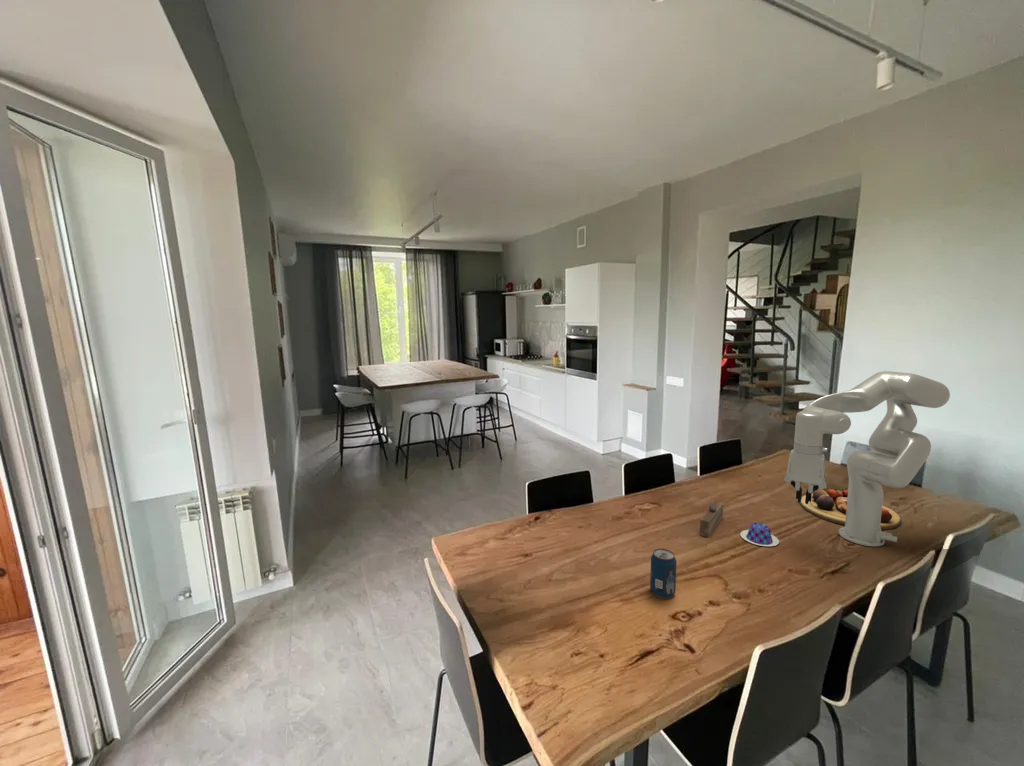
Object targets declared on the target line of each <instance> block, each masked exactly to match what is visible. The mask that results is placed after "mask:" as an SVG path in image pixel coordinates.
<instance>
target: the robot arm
mask: <svg viewBox="0 0 1024 766" xmlns="http://www.w3.org/2000/svg"><path fill="white" fill-rule="evenodd" d="M950 392H951V391H950V389H949V388H948V387H947V386H946V385H945V384H944V383H943V382H940V381H937V380H933V379H931V378H928V377H926V376H923V375H919V374H916V373H909V372H901V371H900V372H897V371H886V370H885V371H884V370H883V371H879V372H876V373H875V374H872V375H871V376H870V377H868V378H866V379H865V380H863V381H862V382H860V383H858V384H857V385H855V386H854V387H853V388H851V389H847V390H844V391H839V392H836V393H832V394H828V395H824V396H822V397H819V398H817V399H815V400H813V401H812V402H810V403H809V404H807V405H806V406H805V407H804V408H803V409H802V410H801V411H798V412H797V413H796V416H795V425H794V427H795V428H794V438H793V439H794V440H793V441H794V442H793V449H791V451H790V452H789V458H788V462H787V468H786V469H787V470H786V474H785V476H784V478H783V481H784V482H786V483H789V484H790V485H791V486H792V487H793V488H794V489H795V491H796V492H795V493H796V494H795V499H796V500H797V502H798V503H799V504H800V502H801V499H802V497H803V496H802V495H803V488H802V487H801V483H802V484H808V487H807V489H806V491H805V495H806V499H805V504H808V502H809V501H810V502H811V496H812V494H813V493H814V492H815V491H816V490H818V489H822V490H824V489H827V487H828V486H827V482H826V480H825V477H826V458H825V454H824V453H827V452H828V448H827V447H825V446H823V437H824V434H825V435H826V434H827V435H840V434H844V433H846V432H847V431H849V430H850V428H851V426H852V421H851V418H850V417H849V416H848V415H847V414H848V413H849V414H850V413H863V412H869V411H872V410H873V409H874V408H876V407H877V406H879V405H880V404H882V403H883V402H885V401H886V408H887V409H886V413H885V415H884V417H883V419H882V420H881V421H880V423H879V424H878V425H877V427H876V428H875V429H874V431H873V432H872V434H871V435H870V436H869V440H868V445H869V448H870V449H872V450H873V451H869V450H864V449H863V450H861V449H860V450H855V451H853V452H851V453H850V454H849V455H848V457H847V460H846V467H847V474H848V488H847V489H848V498H847V508H846V519H845V525H844V526H841V527H840V528H839V529H838V535H840V536H841V537H842V538H843V539H845V540H847V541H849V542H851V543H855V544H857V545H861V546H865V547H874V548H877V547H882V546H884V545H885V542H886V541H889V542H893V543H898V536H896V535H895V536H894V535H893V533H890V532H885V531H884V530H882V529H881V527H880V524H881V514H882V505H883V506H884V504H883V503H884V491H883V486H886V487H889V488H893V489H903V488H905V487H907V486H908V485H909V484H910V483H911V481H913V479H914V478H915V476H916V475H917V473H918V472H919V471H920V469H921V468H922V466H923V465H924V463H925V462H926V461H927V460H928V458H929V456H930V454H931V450H932V449H931V448H932V445H931V444H932V443H931V441H930V439H929V438H928V437H927V436H925V435H923V434H922V433H917V432H913V431H914V429H915V428H916V427H917V424H918V417H917V414H916V413H915V411H914V409H913V407H912V406H917V407H923V408H928V409H929V408H931V409H937V408H941V407H943V406H944V405H946V404H947V403H948V401H949V400H950V396H951V393H950ZM846 413H847V414H846ZM874 451H875V452H874ZM877 452H878V453H877ZM882 485H883V486H882Z"/></svg>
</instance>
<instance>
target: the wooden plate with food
mask: <svg viewBox="0 0 1024 766" xmlns="http://www.w3.org/2000/svg"><path fill="white" fill-rule="evenodd" d="M847 498H848V488H846V487H844V488H842V489H837V488H829V489H826V490H824V489H817V490H816V491H814V492H812V496H811V502H810V501H809V502H808V504H805V499H806V494H804V495H803V496H802V499H801V502H800V503H799V504H800V506H801V507H802V508H803V509H804V510H805V511H806V512H807V513H810V514H811V515H813V516H816V517H818V518H820V519H821V520H826V521H829V522H832V523H835V524H838V525H843V526H845V519H846V508H847ZM901 521H902V519H901V517H900V515H899V514H898V513H897V512H896V511H894V510H892V509H891V508H889V507H887V506H885V505H884V504H883V505H882V514H881V524H880V527H881V530H890V529H895V528H897V527H899V525H901Z"/></svg>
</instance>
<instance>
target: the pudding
mask: <svg viewBox="0 0 1024 766" xmlns="http://www.w3.org/2000/svg"><path fill="white" fill-rule="evenodd" d="M740 536H741V539H743V540H745V541H747V542H748V543H750V544H752V545H756V546H761V547H775V546H777V545H778V544H780V540H779V539H778V537H776V535H773V534H772V532H771V529H770V527H769V526H768V525H767V524H764V523H762V522H753V523H751V524H750V526H749V528H748V529H745V530H742V531H740Z"/></svg>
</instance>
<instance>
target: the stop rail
mask: <svg viewBox="0 0 1024 766" xmlns="http://www.w3.org/2000/svg"><path fill="white" fill-rule="evenodd" d="M723 517H724V502H720V501H714V502H713V504H709V505H708V510H707V511H706V512H705V513H704V514H703V516H702V517H701V518H700V521H699V536H703V537H704V538H705V537H706V538H710V536H711V535H712V534H713V532H714V530H715V529H716V528H717V527H718V525H719V523H720V522H721V521H722V519H723Z"/></svg>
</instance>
